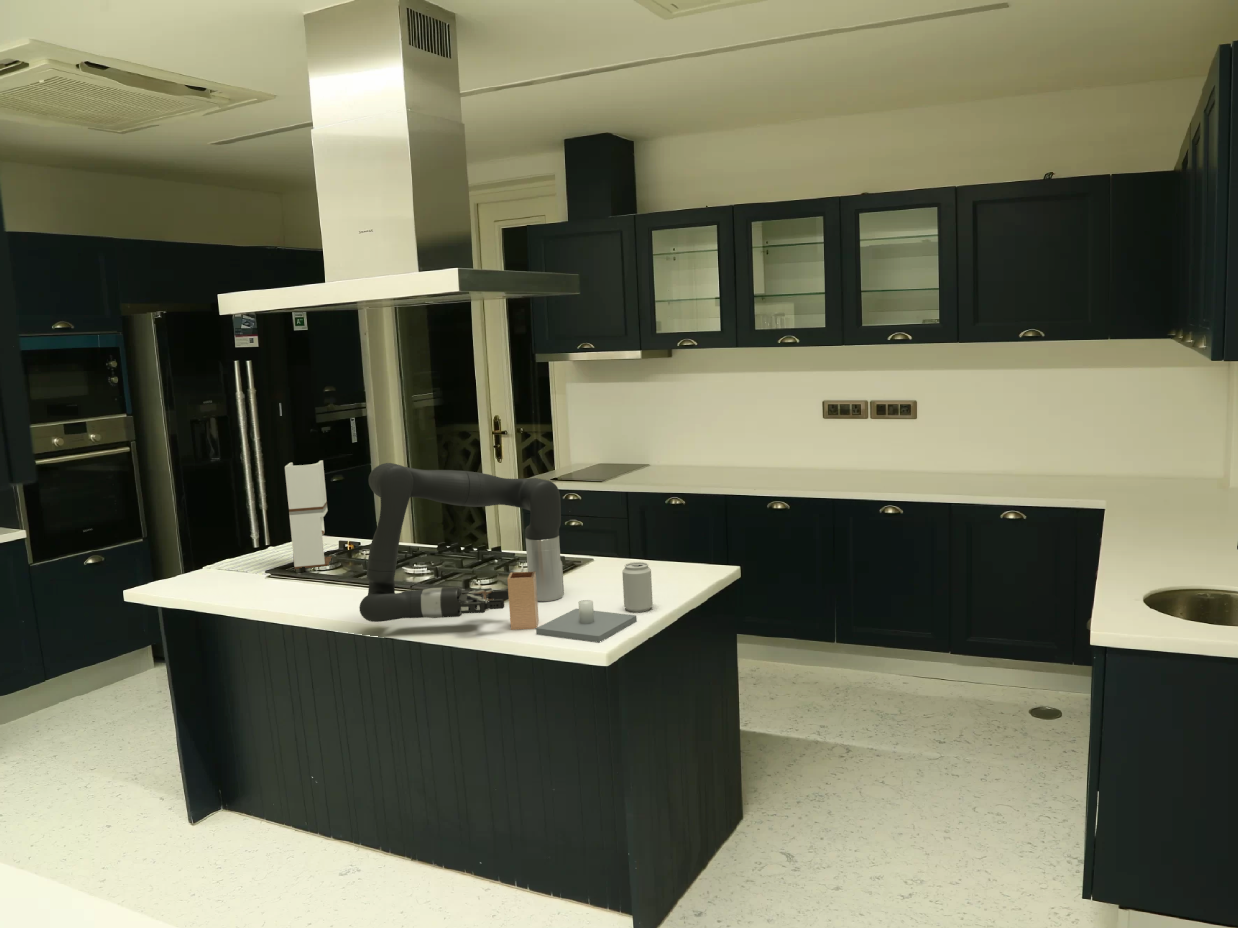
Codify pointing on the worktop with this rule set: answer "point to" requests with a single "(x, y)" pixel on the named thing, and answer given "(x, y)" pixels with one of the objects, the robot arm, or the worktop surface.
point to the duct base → (586, 623)
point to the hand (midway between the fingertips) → (506, 599)
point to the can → (637, 587)
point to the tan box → (523, 600)
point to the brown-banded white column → (307, 513)
